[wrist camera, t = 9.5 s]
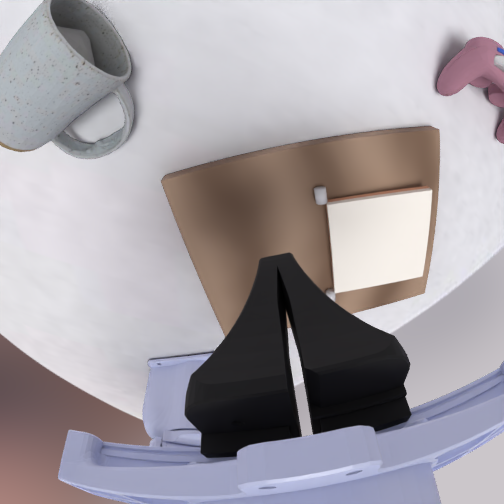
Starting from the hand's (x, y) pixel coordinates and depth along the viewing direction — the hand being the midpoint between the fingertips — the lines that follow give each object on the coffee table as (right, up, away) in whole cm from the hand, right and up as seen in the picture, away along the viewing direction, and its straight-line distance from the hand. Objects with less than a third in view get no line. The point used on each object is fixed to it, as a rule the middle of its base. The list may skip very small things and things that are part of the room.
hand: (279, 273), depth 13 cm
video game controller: (+17, +14, +3) cm, 23 cm away
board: (+4, +2, +10) cm, 11 cm away
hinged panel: (+8, +1, +8) cm, 12 cm away
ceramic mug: (-12, +13, +3) cm, 18 cm away
